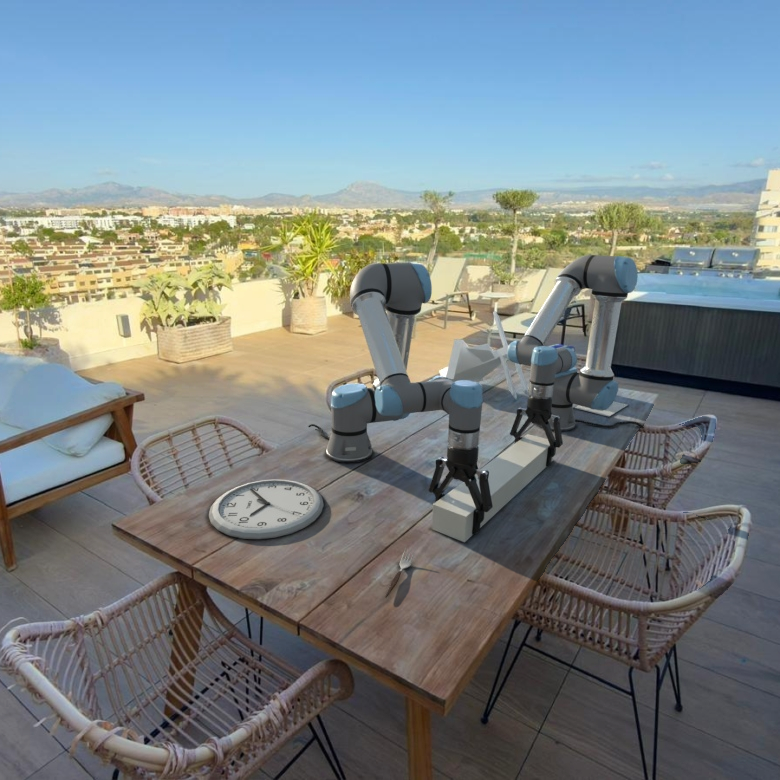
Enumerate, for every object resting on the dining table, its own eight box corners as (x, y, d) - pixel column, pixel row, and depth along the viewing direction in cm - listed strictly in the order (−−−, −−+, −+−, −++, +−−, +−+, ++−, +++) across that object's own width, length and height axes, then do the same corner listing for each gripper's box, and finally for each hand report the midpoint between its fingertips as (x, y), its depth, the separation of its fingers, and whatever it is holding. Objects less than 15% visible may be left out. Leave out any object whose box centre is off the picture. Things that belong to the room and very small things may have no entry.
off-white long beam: (525, 453, 178) (527, 433, 176) (553, 460, 173) (555, 440, 171) (431, 529, 132) (432, 504, 130) (464, 542, 127) (466, 516, 125)
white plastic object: (461, 429, 252) (437, 405, 227) (444, 352, 274) (420, 323, 250) (535, 404, 240) (518, 377, 215) (510, 326, 262) (492, 293, 237)
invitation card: (608, 416, 214) (573, 407, 224) (608, 416, 214) (573, 408, 224) (628, 404, 229) (594, 396, 238) (628, 405, 229) (594, 397, 238)
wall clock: (321, 531, 127) (194, 535, 125) (321, 537, 128) (195, 541, 125) (325, 475, 156) (222, 477, 153) (325, 480, 156) (222, 482, 154)
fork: (379, 598, 107) (379, 590, 107) (404, 554, 122) (404, 547, 121) (391, 601, 106) (391, 593, 106) (415, 557, 121) (415, 549, 120)
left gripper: (416, 437, 130) (413, 517, 137) (498, 461, 118) (490, 547, 124) (432, 429, 136) (429, 505, 143) (512, 451, 123) (504, 533, 130)
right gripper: (502, 391, 168) (497, 455, 175) (571, 406, 155) (562, 474, 162) (512, 386, 174) (506, 448, 181) (579, 400, 161) (570, 466, 168)
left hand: (458, 525), depth 133 cm, fingers closed on off-white long beam, 9 cm apart
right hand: (533, 460), depth 171 cm, fingers closed on off-white long beam, 9 cm apart
